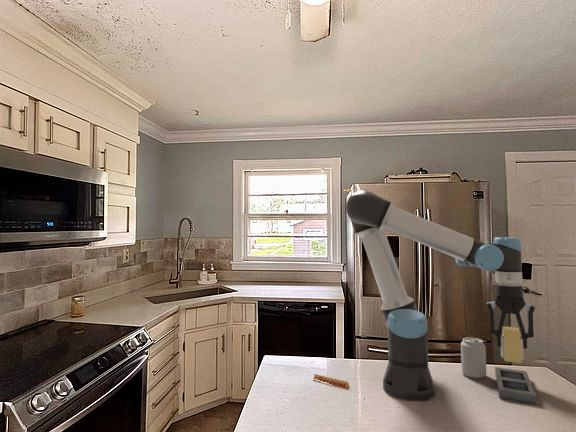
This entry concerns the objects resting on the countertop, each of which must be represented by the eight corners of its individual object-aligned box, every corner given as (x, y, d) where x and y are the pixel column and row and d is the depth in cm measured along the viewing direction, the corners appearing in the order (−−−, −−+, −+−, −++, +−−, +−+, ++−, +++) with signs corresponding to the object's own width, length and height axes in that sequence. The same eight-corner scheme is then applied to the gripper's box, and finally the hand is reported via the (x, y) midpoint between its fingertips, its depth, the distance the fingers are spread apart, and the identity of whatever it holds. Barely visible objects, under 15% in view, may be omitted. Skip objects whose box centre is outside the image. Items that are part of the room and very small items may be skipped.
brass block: (504, 361, 115) (503, 329, 116) (503, 357, 119) (502, 326, 120) (521, 363, 113) (520, 331, 114) (519, 358, 117) (518, 327, 118)
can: (489, 380, 118) (488, 343, 119) (465, 378, 119) (464, 342, 120) (482, 372, 125) (481, 336, 126) (459, 370, 127) (458, 335, 127)
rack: (499, 398, 105) (498, 389, 105) (495, 374, 123) (495, 367, 123) (536, 404, 101) (536, 395, 101) (526, 379, 119) (526, 371, 119)
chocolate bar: (346, 390, 112) (346, 383, 112) (312, 382, 118) (312, 375, 118) (349, 387, 114) (349, 380, 114) (316, 379, 120) (316, 372, 120)
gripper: (478, 284, 118) (481, 357, 117) (543, 287, 110) (547, 365, 109) (478, 281, 125) (481, 350, 124) (539, 284, 117) (543, 357, 116)
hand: (512, 357), depth 116 cm, fingers closed on brass block, 4 cm apart
